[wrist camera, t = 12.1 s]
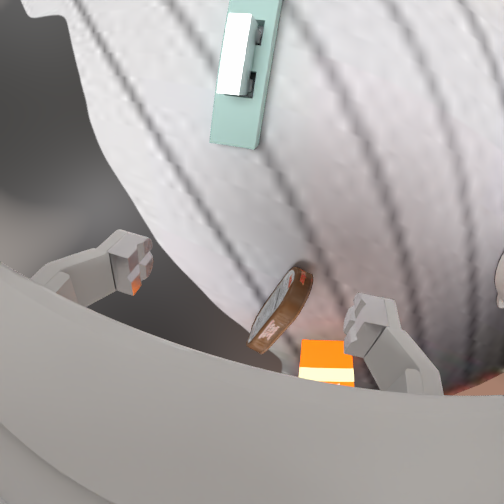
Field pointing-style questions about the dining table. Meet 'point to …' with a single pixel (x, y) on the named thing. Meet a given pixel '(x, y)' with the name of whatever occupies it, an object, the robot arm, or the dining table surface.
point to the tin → (280, 309)
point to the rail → (252, 108)
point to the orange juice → (326, 362)
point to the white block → (238, 54)
